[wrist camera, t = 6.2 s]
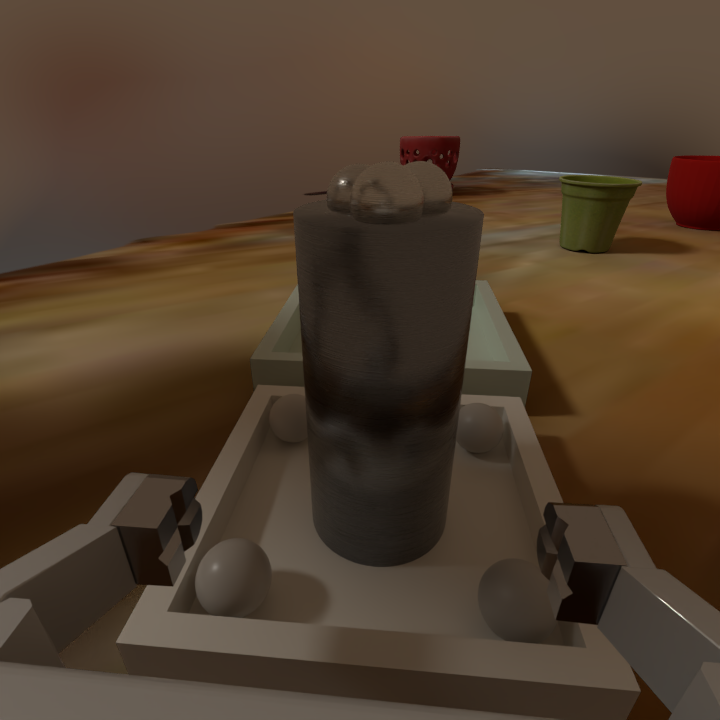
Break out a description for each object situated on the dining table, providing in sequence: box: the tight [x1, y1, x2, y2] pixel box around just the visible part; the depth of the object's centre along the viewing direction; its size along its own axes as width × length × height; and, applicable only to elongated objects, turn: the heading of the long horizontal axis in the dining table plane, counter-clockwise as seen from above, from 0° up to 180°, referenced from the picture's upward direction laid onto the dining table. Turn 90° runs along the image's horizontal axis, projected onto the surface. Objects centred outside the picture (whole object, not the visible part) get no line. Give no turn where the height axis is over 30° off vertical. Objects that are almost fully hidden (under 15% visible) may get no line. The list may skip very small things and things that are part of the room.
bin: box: [250, 280, 532, 408], centre depth 34 cm, size 16×16×3 cm
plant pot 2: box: [559, 175, 642, 253], centre depth 60 cm, size 9×9×9 cm
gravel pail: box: [293, 161, 484, 567], centre depth 16 cm, size 6×6×13 cm
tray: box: [116, 385, 641, 720], centre depth 19 cm, size 14×14×3 cm
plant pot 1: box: [400, 136, 460, 188], centre depth 104 cm, size 13×13×12 cm
